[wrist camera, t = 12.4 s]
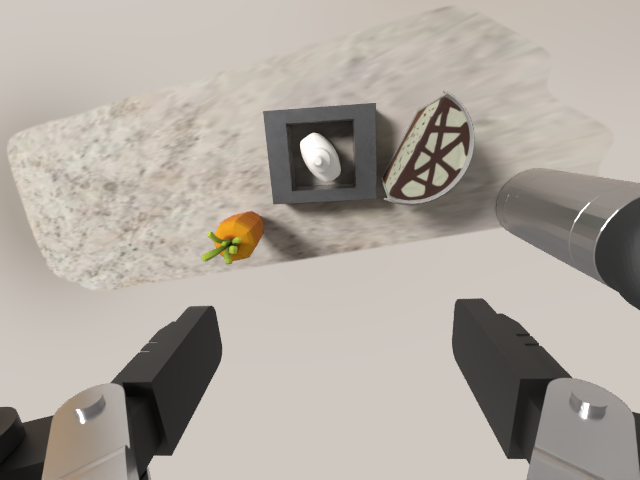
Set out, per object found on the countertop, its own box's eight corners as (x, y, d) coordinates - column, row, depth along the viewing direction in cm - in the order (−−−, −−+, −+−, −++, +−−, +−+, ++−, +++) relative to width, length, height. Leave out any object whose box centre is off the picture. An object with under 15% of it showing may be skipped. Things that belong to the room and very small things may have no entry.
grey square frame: (371, 106, 40) (375, 102, 36) (373, 193, 43) (376, 198, 39) (270, 113, 41) (263, 111, 37) (279, 198, 44) (273, 204, 40)
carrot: (238, 232, 46) (193, 274, 31) (240, 198, 44) (195, 227, 30) (272, 237, 46) (242, 282, 31) (275, 204, 44) (246, 236, 30)
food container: (414, 208, 43) (436, 227, 34) (375, 188, 43) (386, 203, 33) (465, 121, 40) (506, 116, 30) (423, 99, 39) (450, 86, 30)
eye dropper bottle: (338, 131, 41) (338, 128, 29) (341, 175, 42) (342, 188, 31) (304, 134, 41) (292, 133, 30) (308, 177, 43) (298, 192, 31)
